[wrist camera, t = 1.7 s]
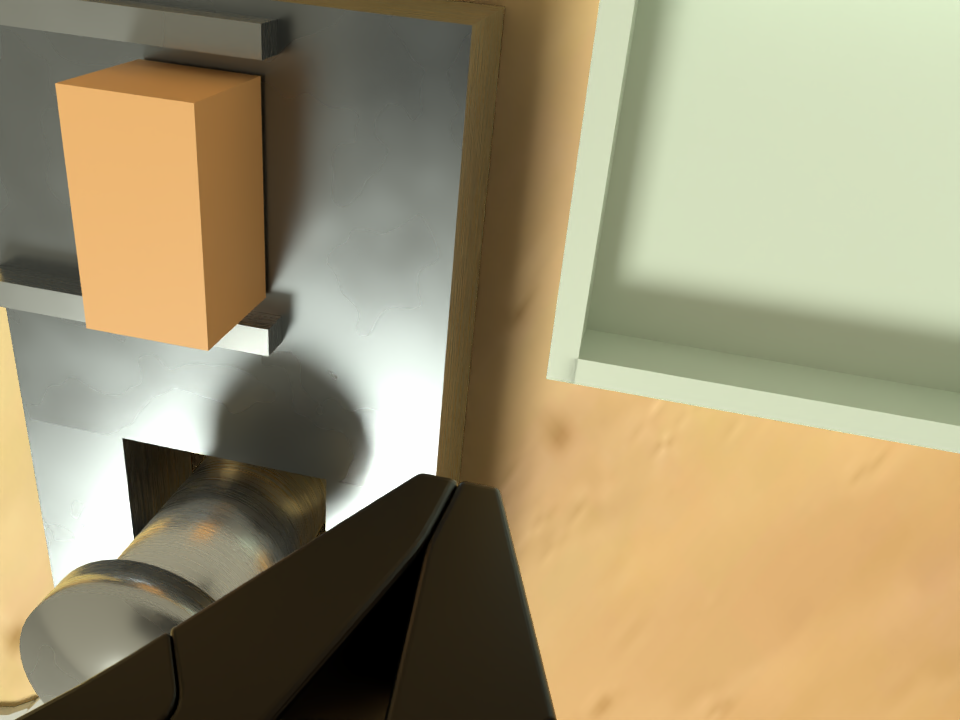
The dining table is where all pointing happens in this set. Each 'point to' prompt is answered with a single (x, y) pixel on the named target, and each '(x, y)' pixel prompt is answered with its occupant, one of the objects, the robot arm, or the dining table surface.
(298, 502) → the pin
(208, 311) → the block
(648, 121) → the tray
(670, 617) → the dining table surface
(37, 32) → the metallic box with opening
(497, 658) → the robot arm
